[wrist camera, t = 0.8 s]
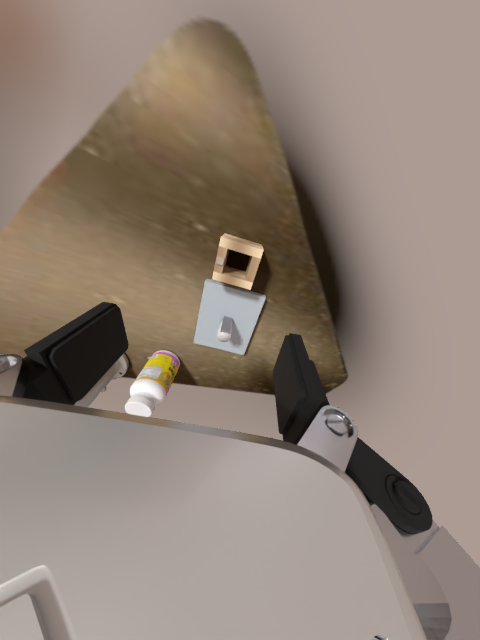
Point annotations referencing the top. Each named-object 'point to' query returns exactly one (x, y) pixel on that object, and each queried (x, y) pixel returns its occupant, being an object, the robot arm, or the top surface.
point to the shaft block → (227, 316)
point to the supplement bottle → (152, 383)
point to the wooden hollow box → (233, 274)
